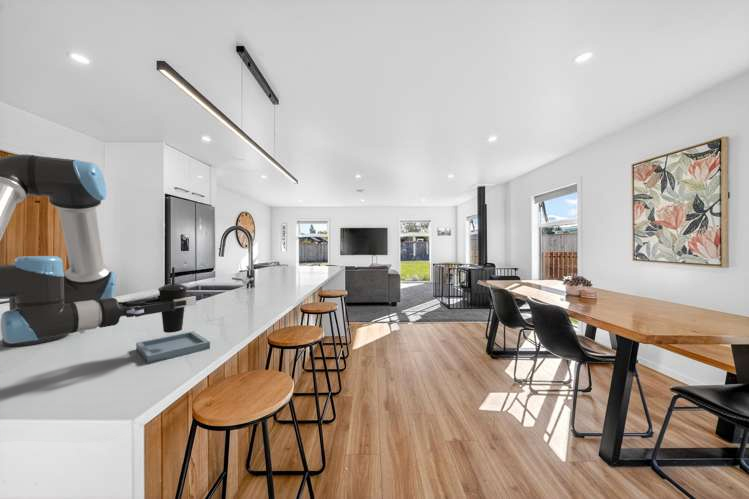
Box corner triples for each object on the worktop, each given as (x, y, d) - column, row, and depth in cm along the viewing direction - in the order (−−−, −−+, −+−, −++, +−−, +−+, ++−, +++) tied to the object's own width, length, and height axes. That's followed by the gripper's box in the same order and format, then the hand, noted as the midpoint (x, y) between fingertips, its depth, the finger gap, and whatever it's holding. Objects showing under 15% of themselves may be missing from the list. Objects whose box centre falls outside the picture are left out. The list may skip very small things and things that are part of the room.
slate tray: (136, 349, 92) (136, 342, 92) (193, 337, 104) (193, 331, 104) (148, 364, 82) (147, 356, 82) (210, 348, 94) (209, 341, 94)
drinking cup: (172, 335, 88) (172, 269, 87) (151, 332, 89) (151, 267, 89) (193, 327, 95) (193, 266, 95) (173, 325, 97) (173, 265, 96)
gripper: (85, 322, 82) (176, 307, 102) (110, 334, 72) (205, 314, 92) (84, 296, 82) (175, 285, 101) (109, 303, 72) (205, 290, 92)
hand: (190, 299), depth 97 cm, fingers closed on drinking cup, 6 cm apart
